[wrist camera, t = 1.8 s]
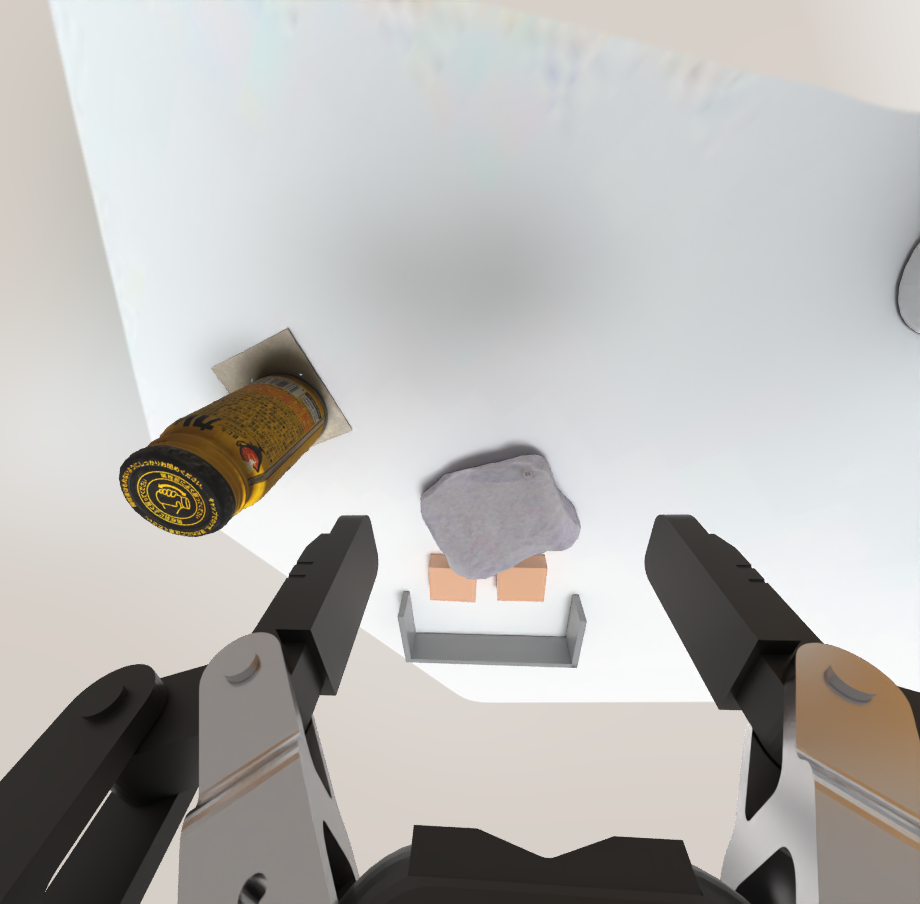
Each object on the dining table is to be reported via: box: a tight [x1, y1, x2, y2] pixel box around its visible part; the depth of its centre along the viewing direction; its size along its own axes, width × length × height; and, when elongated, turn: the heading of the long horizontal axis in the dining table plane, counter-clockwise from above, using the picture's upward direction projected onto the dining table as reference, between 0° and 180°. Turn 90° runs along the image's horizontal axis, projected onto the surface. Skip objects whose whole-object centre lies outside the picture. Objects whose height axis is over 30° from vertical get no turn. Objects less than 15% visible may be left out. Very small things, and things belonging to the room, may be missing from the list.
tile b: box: [497, 555, 547, 601], centre depth 34 cm, size 4×4×2 cm
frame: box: [398, 592, 587, 668], centre depth 36 cm, size 8×18×3 cm, turn 92°
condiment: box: [119, 329, 352, 537], centre depth 22 cm, size 7×8×12 cm
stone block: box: [420, 454, 581, 580], centre depth 29 cm, size 12×5×10 cm
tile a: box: [429, 554, 476, 602], centre depth 34 cm, size 4×4×2 cm
